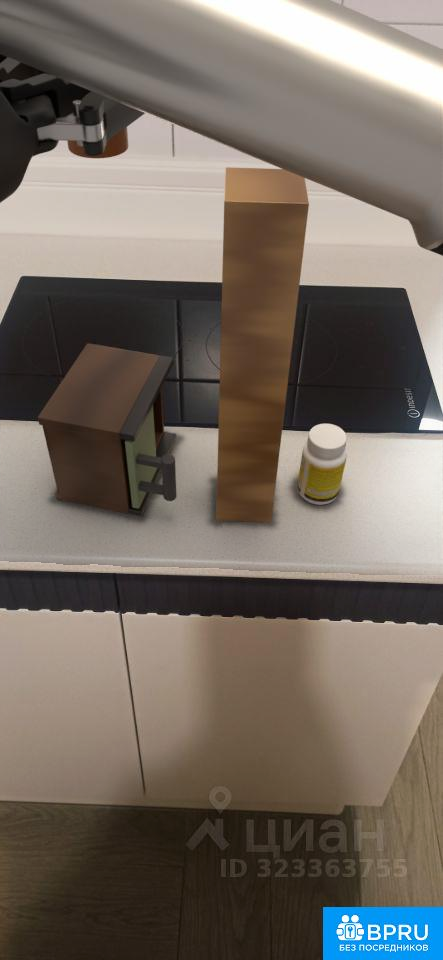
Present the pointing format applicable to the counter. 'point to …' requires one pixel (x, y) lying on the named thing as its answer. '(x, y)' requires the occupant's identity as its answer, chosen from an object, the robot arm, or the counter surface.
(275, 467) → the stand
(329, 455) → the supplement bottle
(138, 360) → the cabinet
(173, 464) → the sliding door
